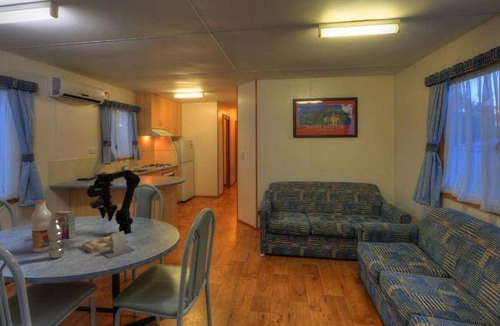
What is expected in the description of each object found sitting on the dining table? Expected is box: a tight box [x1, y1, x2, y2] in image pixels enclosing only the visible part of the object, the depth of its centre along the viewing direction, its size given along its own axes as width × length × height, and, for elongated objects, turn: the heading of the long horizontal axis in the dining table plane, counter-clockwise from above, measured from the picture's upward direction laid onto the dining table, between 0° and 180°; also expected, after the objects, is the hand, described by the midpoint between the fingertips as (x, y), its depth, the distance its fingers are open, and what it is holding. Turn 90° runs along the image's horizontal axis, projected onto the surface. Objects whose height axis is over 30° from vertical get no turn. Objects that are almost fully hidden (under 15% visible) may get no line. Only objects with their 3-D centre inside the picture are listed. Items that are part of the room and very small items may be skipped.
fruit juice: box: [30, 199, 52, 253], centre depth 157 cm, size 9×9×28 cm
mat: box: [99, 244, 136, 259], centre depth 153 cm, size 14×12×1 cm
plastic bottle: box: [47, 218, 65, 259], centre depth 145 cm, size 6×7×20 cm
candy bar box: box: [54, 210, 77, 240], centre depth 177 cm, size 11×5×16 cm, turn 72°
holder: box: [81, 235, 129, 254], centre depth 163 cm, size 20×14×2 cm
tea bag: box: [110, 231, 127, 253], centre depth 154 cm, size 4×7×10 cm, turn 140°
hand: (106, 219), depth 170 cm, fingers open, 9 cm apart
